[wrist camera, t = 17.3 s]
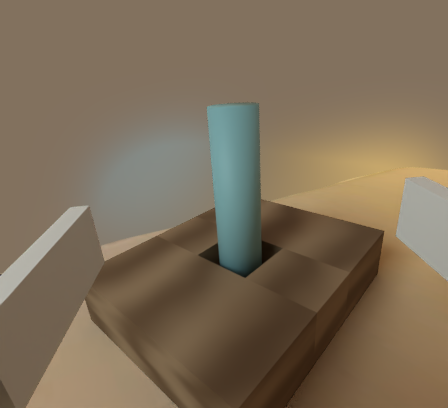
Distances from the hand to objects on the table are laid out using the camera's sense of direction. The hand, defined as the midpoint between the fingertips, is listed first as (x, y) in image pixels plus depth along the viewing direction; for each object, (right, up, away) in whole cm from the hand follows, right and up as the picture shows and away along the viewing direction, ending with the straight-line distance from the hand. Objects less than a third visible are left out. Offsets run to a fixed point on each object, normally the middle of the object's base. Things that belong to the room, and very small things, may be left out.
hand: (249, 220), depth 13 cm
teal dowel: (+1, -7, +14) cm, 16 cm away
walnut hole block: (+1, -7, +14) cm, 16 cm away
